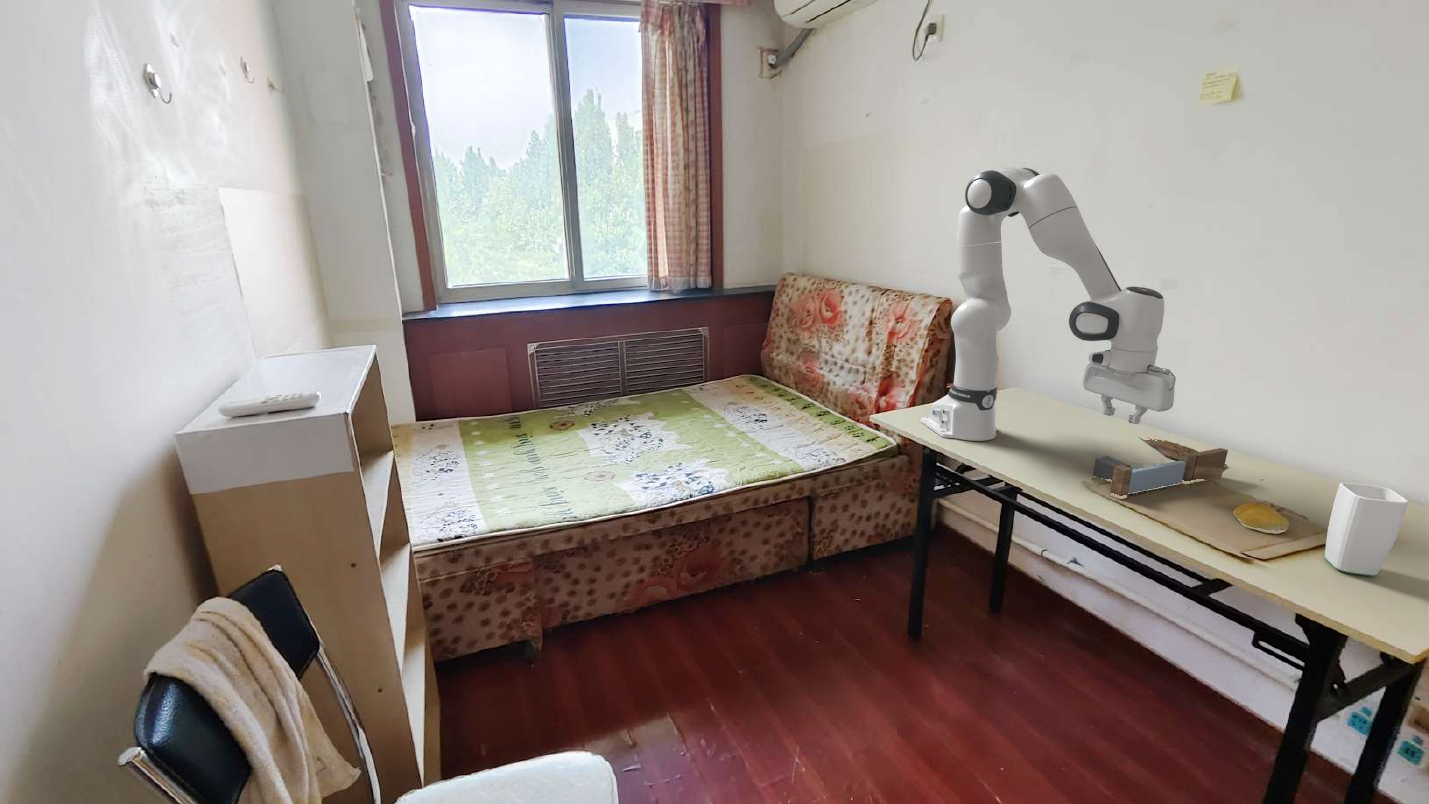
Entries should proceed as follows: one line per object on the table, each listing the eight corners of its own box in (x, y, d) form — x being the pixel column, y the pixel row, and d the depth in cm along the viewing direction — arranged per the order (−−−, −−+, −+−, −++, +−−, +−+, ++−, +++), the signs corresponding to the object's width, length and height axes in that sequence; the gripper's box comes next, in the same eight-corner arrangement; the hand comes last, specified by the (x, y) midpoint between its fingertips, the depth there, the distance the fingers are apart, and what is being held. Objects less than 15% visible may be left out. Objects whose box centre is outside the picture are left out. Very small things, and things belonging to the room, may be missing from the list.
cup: (1333, 574, 113) (1357, 497, 108) (1314, 554, 119) (1335, 481, 115) (1387, 582, 110) (1414, 504, 106) (1364, 561, 117) (1388, 486, 112)
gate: (1121, 493, 144) (1126, 470, 143) (1176, 482, 150) (1180, 460, 148) (1126, 495, 143) (1131, 472, 142) (1181, 484, 149) (1186, 462, 147)
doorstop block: (1092, 475, 155) (1095, 458, 154) (1104, 473, 156) (1107, 456, 155) (1114, 485, 150) (1117, 467, 148) (1127, 482, 151) (1130, 465, 149)
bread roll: (1248, 534, 127) (1253, 515, 126) (1226, 513, 135) (1230, 496, 134) (1298, 538, 125) (1303, 520, 124) (1272, 517, 134) (1276, 500, 132)
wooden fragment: (1240, 472, 156) (1241, 468, 156) (1197, 474, 155) (1198, 470, 155) (1161, 437, 181) (1162, 433, 180) (1124, 438, 180) (1125, 435, 180)
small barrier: (1109, 495, 144) (1114, 466, 142) (1212, 474, 154) (1219, 447, 152) (1119, 499, 142) (1124, 470, 140) (1223, 478, 152) (1229, 450, 150)
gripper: (1187, 369, 136) (1174, 431, 140) (1102, 350, 154) (1093, 405, 158) (1166, 372, 134) (1153, 434, 138) (1082, 352, 152) (1074, 408, 157)
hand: (1120, 418), depth 148 cm, fingers open, 5 cm apart
